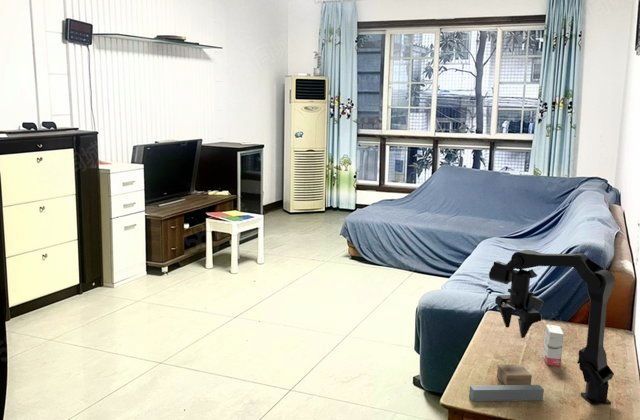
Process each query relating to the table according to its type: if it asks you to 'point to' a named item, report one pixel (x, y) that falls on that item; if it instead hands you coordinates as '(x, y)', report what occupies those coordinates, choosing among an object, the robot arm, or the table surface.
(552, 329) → the ink box
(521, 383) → the walnut block
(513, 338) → the table surface
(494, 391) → the grey board
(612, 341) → the table surface
